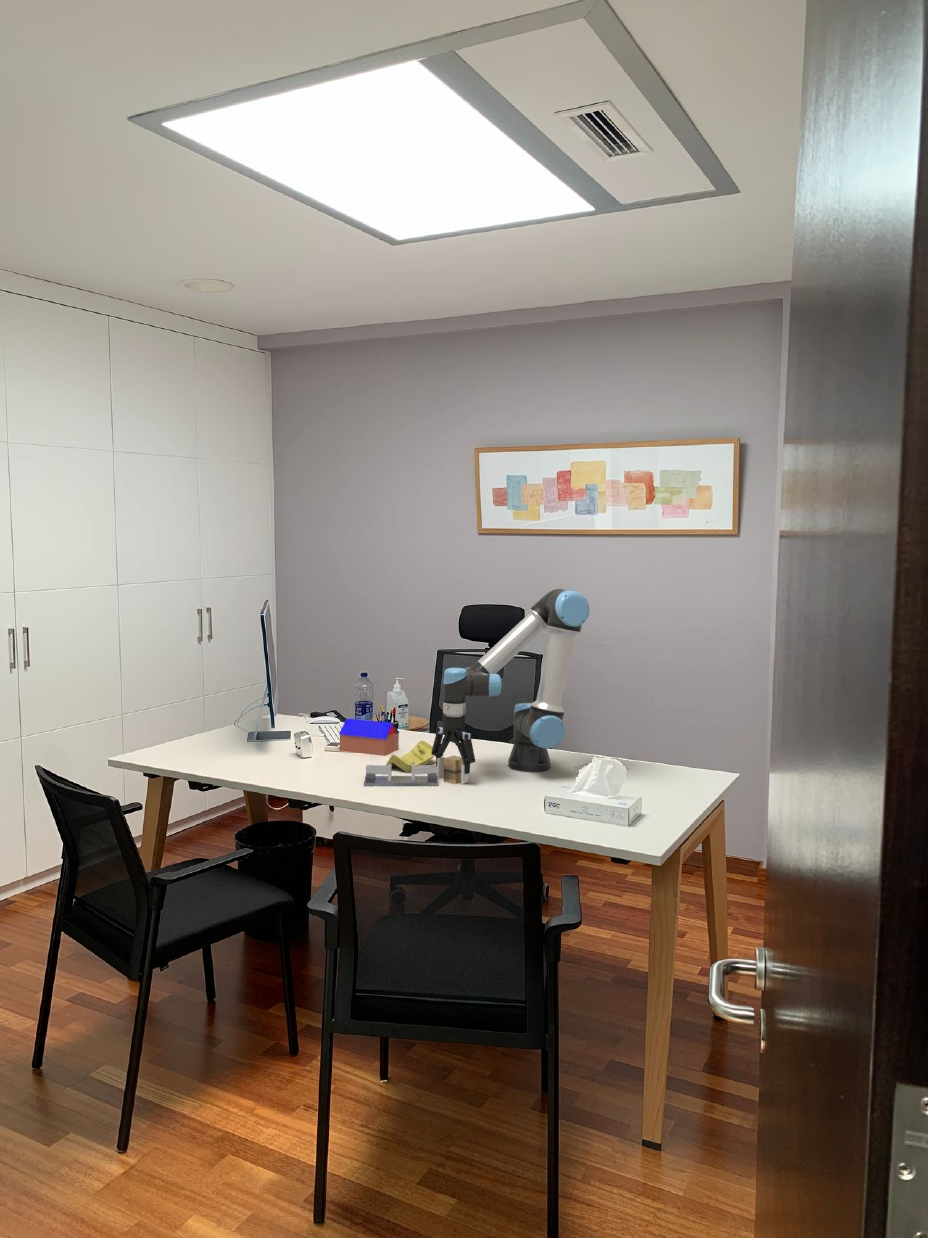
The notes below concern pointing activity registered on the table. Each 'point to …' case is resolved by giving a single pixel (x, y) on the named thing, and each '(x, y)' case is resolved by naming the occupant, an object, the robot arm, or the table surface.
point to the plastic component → (413, 757)
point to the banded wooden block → (453, 769)
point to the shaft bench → (401, 780)
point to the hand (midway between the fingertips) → (452, 779)
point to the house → (369, 737)
